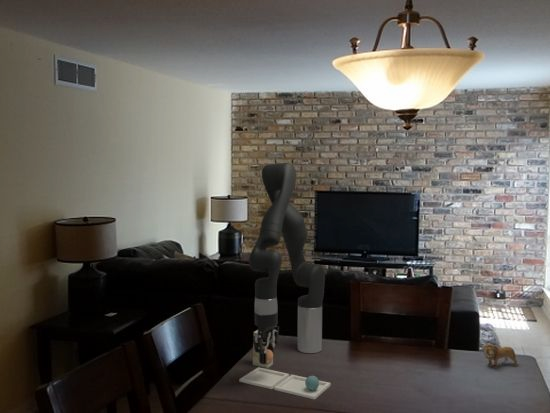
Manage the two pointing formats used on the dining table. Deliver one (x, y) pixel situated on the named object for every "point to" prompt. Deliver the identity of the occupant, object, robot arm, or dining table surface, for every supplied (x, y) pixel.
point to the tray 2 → (301, 387)
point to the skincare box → (257, 357)
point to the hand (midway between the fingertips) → (266, 360)
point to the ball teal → (312, 383)
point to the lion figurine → (498, 354)
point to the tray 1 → (264, 378)
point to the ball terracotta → (269, 355)
